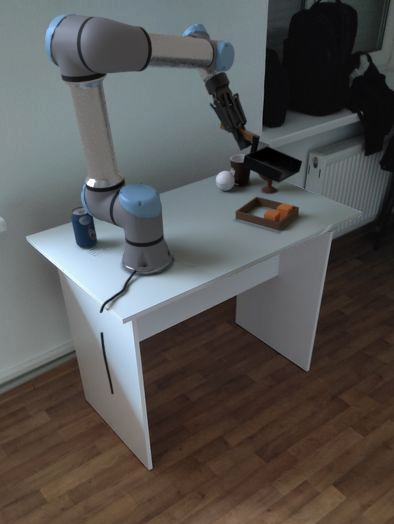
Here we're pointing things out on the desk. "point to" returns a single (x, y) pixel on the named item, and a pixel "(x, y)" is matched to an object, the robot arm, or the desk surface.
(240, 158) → the coffee mug
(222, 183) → the white oval piece
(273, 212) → the block
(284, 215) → the block
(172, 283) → the desk surface
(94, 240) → the soda can
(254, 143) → the pan
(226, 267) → the desk surface
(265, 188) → the ice cream bowl
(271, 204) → the tray
